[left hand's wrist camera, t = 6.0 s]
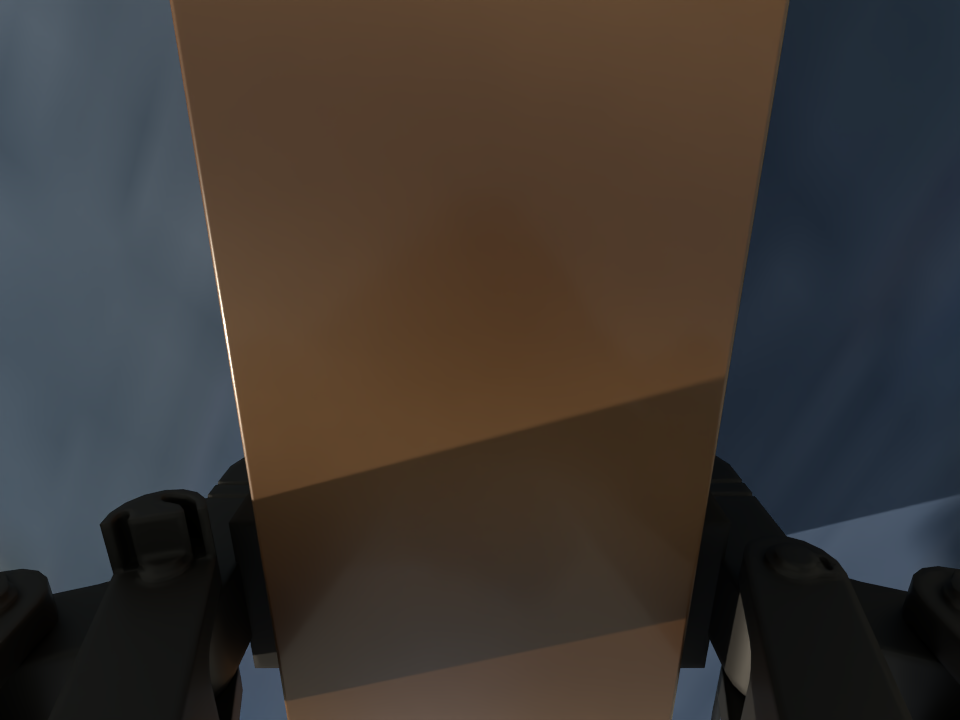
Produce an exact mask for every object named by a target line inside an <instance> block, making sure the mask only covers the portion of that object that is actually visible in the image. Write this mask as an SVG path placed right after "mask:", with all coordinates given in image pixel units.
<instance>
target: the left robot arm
mask: <svg viewBox="0 0 960 720" xmlns="http://www.w3.org/2000/svg"><path fill="white" fill-rule="evenodd" d="M100 527H101V531H102V535H103V538H104V542H105V545H106V549H107V553H108V556H109V560H110V563H111V567H112V570H113V576H112V579H111V581H109V582H105V583H102V584H98V585H93V586H88V587H84V588H79V589H74V590H70V591H65V592H60V593H56V594H52V591H51V588H50V585H49V582H48V579H47V577H46V576H44V575H43V574H42V573H40V572H39V571H36V570H28V569H18V570H11V571H4V572H0V720H239V718H240V709H241V700H242V691H243V689H242V682H241V676H240V671H239V664H240V662H241V660H242V658H243V656H244V654H245V651H246V649H247V647H248V645H249V643H251V648H252V653H253V659H254V664H255V668H279V664H278V657H277V651H276V645H275V639H274V633H273V627H272V621H271V615H270V609H269V603H268V596H267V590H266V584H265V578H264V572H263V566H262V560H261V554H260V548H259V542H258V535H257V529H256V523H255V517H254V511H253V505H252V499H251V493H250V487H249V481H248V474H247V468H246V462H245V457H244V458H243V459H241V460H239V461H238V462H236V463H235V464H233V465H232V466H230V468H229V469H228V470H227V471H226V473H225V474H224V475H223V476H222V478H221V479H220V480H219V482H218V485H215V487H214V488H213V489H212V490H211V492H210V493H209V494H208V498H204V497H203V496H201V495H200V494H199V493H198V492H194V491H189V490H184V489H179V490H164V491H159V492H155V493H151V494H146V495H143V496H141V497H138V498H136V499H133V500H131V501H129V502H126V503H124V504H123V505H121V506H120V507H118V508H117V509H115V510H114V511H112V512H111V513H109V514H108V516H107V517H106V518H105V519H104V520H103V521H102V522H101V524H100ZM709 640H710V641H711V643H712V645H713V647H714V649H715V651H716V654H717V656H718V658H719V660H720V662H721V664H722V666H721V671H720V676H719V681H718V686H717V691H716V696H715V701H714V706H713V711H712V717H711V720H720V716H721V720H960V569H954V568H947V567H940V566H936V567H928V568H922V569H920V570H919V571H918V572H916V573H915V574H914V575H913V577H912V580H911V583H910V586H909V590H908V592H907V591H902V590H897V589H893V588H888V587H883V586H879V585H874V584H869V583H864V582H860V581H856V580H853V579H849V578H848V575H847V573H846V572H845V571H844V569H843V568H842V567H841V565H840V564H839V563H838V561H837V560H835V559H834V558H833V557H831V556H830V555H829V554H827V553H826V552H825V551H823V550H822V549H820V548H818V547H816V546H813V545H811V544H809V543H807V542H805V541H802V540H798V539H794V538H791V537H787V536H786V535H785V534H784V532H783V531H782V530H781V529H780V527H779V526H778V525H777V524H776V522H775V521H774V520H773V519H772V517H771V516H770V515H769V514H768V512H767V511H766V510H765V509H764V507H763V506H762V505H761V504H760V502H759V501H758V500H757V498H756V497H755V496H752V492H751V491H750V490H749V488H748V487H747V486H746V485H745V483H742V480H741V478H740V477H739V476H738V475H737V473H736V472H735V471H734V469H733V468H732V467H731V466H730V464H728V463H726V462H725V461H723V460H722V459H720V458H719V457H717V456H716V455H715V459H714V465H713V471H712V477H711V483H710V489H709V495H708V501H707V507H706V513H705V520H704V526H703V532H702V538H701V544H700V550H699V556H698V562H697V568H696V575H695V581H694V587H693V593H692V599H691V605H690V611H689V617H688V623H687V629H686V636H685V642H684V648H683V654H682V660H681V666H680V668H705V662H706V657H707V651H708V646H709Z"/></svg>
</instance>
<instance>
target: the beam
mask: <svg viewBox="0 0 960 720" xmlns="http://www.w3.org/2000/svg"><path fill="white" fill-rule="evenodd" d="M789 1H790V0H170V5H171V11H172V17H173V23H174V29H175V35H176V41H177V48H178V54H179V60H180V66H181V72H182V78H183V84H184V90H185V96H186V102H187V109H188V115H189V121H190V127H191V133H192V139H193V145H194V151H195V157H196V163H197V170H198V176H199V182H200V188H201V194H202V200H203V206H204V212H205V218H206V224H207V231H208V237H209V243H210V249H211V255H212V261H213V267H214V273H215V279H216V285H217V292H218V298H219V304H220V310H221V316H222V322H223V328H224V334H225V340H226V346H227V352H228V359H229V365H230V371H231V377H232V383H233V389H234V395H235V401H236V407H237V413H238V420H239V426H240V432H241V438H242V444H243V450H244V456H245V462H246V468H247V474H248V481H249V487H250V493H251V499H252V505H253V511H254V517H255V523H256V529H257V535H258V542H259V548H260V554H261V560H262V566H263V572H264V578H265V584H266V590H267V596H268V603H269V609H270V615H271V621H272V627H273V633H274V639H275V645H276V651H277V657H278V664H279V670H280V676H281V682H282V688H283V694H284V700H285V706H286V712H287V718H288V720H672V715H673V709H674V703H675V697H676V691H677V684H678V678H679V672H680V666H681V660H682V654H683V648H684V642H685V636H686V629H687V623H688V617H689V611H690V605H691V599H692V593H693V587H694V581H695V575H696V568H697V562H698V556H699V550H700V544H701V538H702V532H703V526H704V520H705V513H706V507H707V501H708V495H709V489H710V483H711V477H712V471H713V465H714V459H715V452H716V446H717V440H718V434H719V428H720V422H721V416H722V410H723V404H724V397H725V391H726V385H727V379H728V373H729V367H730V361H731V355H732V349H733V342H734V336H735V330H736V324H737V318H738V312H739V306H740V300H741V294H742V288H743V281H744V275H745V269H746V263H747V257H748V251H749V245H750V239H751V233H752V226H753V220H754V214H755V208H756V202H757V196H758V190H759V184H760V178H761V172H762V165H763V159H764V153H765V147H766V141H767V135H768V129H769V123H770V117H771V110H772V104H773V98H774V92H775V86H776V80H777V74H778V68H779V62H780V56H781V49H782V43H783V37H784V31H785V25H786V19H787V13H788V7H789Z"/></svg>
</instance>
